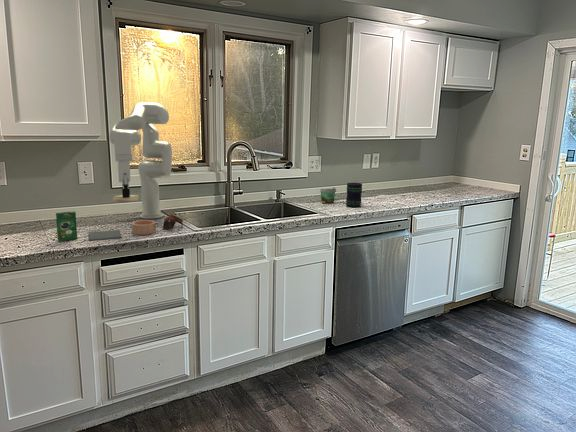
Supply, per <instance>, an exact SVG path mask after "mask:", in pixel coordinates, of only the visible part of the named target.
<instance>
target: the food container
mask: <svg viewBox="0 0 576 432" xmlns="http://www.w3.org/2000/svg"><path fill="white" fill-rule="evenodd" d="M319 192H320V199H321V200H320V203H321V204H324V205H333V204H334V203H335V195H336V192H337V188H336V187H333V188H326V189H325V188H320V191H319Z"/></svg>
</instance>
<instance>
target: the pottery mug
mask: <svg viewBox="0 0 576 432" xmlns="http://www.w3.org/2000/svg"><path fill="white" fill-rule="evenodd" d="M183 221H184V219H183V218H180V217H178V216H176V215H174V214H169V216H167V217H165V219H164V221H163V226H162V229H164V230H165V231H168V230H169V229H170V230H173V229H174V228H175V225H176V223H178V224H179V225H180V226H181V227H180V228H181V229H182V228H183V225H184V224H183Z"/></svg>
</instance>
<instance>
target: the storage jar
mask: <svg viewBox="0 0 576 432" xmlns="http://www.w3.org/2000/svg"><path fill="white" fill-rule="evenodd" d="M362 192H363V184H362V182H361V183H360V182H347V183H346V200H345V204H346V205H345V206H346V207H347V208H350V209H359V208H362Z"/></svg>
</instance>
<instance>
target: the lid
mask: <svg viewBox="0 0 576 432" xmlns="http://www.w3.org/2000/svg"><path fill="white" fill-rule="evenodd" d="M112 201H113V202H116V203H117V202H118V203H130V202H131V203H132V202H136V201H140V196H139V195H137V194H130V197H123V193H121V194H120V195H119V194H118V195H115V196H113V197H112Z"/></svg>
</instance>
